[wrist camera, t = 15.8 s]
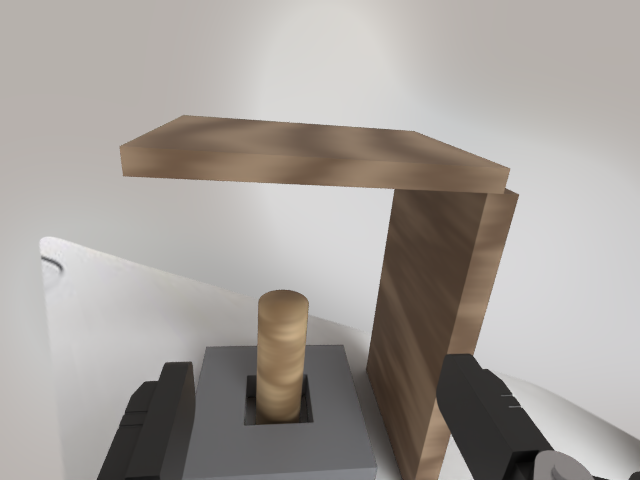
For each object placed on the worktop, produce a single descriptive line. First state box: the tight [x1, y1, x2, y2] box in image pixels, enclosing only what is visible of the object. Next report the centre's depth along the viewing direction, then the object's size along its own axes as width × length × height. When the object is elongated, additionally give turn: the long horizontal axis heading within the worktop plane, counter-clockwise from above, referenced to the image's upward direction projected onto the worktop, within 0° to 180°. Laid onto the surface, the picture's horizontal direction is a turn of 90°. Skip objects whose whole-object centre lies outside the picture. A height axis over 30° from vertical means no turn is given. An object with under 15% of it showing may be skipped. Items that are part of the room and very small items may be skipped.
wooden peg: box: [256, 290, 309, 425], centre depth 37 cm, size 4×4×14 cm
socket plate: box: [182, 345, 377, 480], centre depth 39 cm, size 16×16×3 cm
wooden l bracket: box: [120, 115, 519, 480], centre depth 34 cm, size 22×16×28 cm
